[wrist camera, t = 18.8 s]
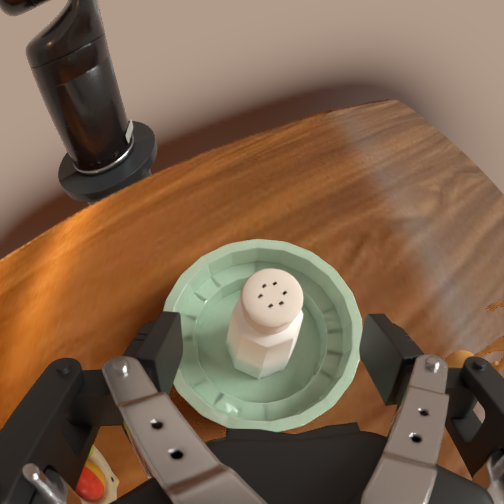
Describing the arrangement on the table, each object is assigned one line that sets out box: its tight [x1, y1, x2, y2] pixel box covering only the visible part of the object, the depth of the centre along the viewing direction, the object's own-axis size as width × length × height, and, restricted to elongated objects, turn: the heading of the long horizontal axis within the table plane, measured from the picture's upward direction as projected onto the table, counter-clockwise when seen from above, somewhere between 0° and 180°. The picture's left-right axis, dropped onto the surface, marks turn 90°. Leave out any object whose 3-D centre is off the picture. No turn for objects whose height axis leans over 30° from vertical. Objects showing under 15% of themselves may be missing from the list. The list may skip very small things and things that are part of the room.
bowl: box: [163, 239, 362, 432], centre depth 21 cm, size 14×14×5 cm
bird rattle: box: [75, 431, 120, 504], centre depth 13 cm, size 6×11×9 cm
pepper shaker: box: [226, 268, 303, 379], centre depth 17 cm, size 5×5×11 cm
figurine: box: [445, 301, 504, 372], centre depth 16 cm, size 8×6×12 cm
